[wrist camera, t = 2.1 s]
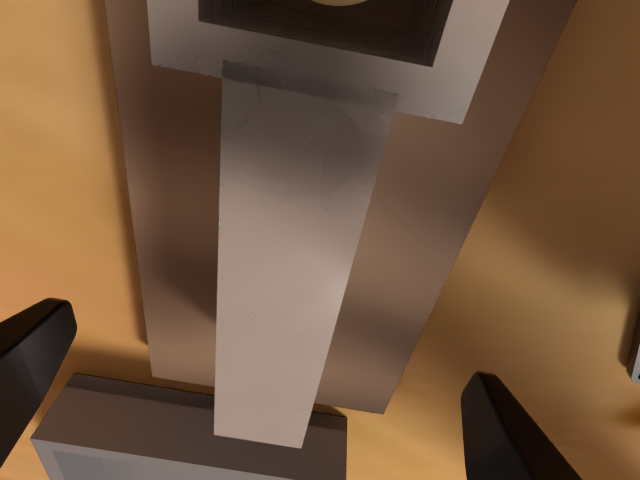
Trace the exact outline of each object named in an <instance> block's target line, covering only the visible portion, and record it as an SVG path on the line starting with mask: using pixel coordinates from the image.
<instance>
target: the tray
mask: <svg viewBox="0 0 640 480" xmlns="http://www.w3.org/2000/svg"><path fill="white" fill-rule="evenodd" d="M214 405H215V396H211V395H205V394H199V393H193V392H186V391H180V390H174V389H168V388H162V387H156V386H150V385H143V384H137V383H131V382H125V381H119V380H113V379H106V378H100V377H94V376H88V375H82V374H76V373H74V374H73V375H72V377H71V378H70V380H69V381H68V383H67V384H66V386H65V387H64V389H63V390H62V392H61V393H60V394H59V396H58V397H57V399H56V400H55V402H54V403H53V405H52V406H51V408H50V409H49V411H48V412H47V414H46V415H45V417H44V418H43V420H42V421H41V423H40V424H39V426H38V427H37V429H36V430H35V432H34V433H33V435H32V436H31V438H30V440H31V442H32V444H33V446H34V448H35V450H36V452H37V454H38V456H39V458H40V460H41V462H42V464H43V466H44V468H45V470H46V472H47V474H48V476H49V478H50V480H346V459H347V418H346V417H340V416H334V415H328V414H322V413H316V412H311V415H310V419H309V422H308V426H307V430H306V433H305V437H304V440H303V444H302V448H301V449H300V448H294V447H288V446H281V445H275V444H269V443H262V442H256V441H250V440H244V439H237V438H231V437H225V436H218V435H214Z"/></svg>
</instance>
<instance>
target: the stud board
mask: <svg viewBox="0 0 640 480" xmlns="http://www.w3.org/2000/svg"><path fill="white" fill-rule="evenodd" d="M261 1H266V2H271V3H276V4H281V5H286V6H291V7H296V8H301V9H306V10H311V11H316V12H321V13H326V14H331V15H336V16H341V17H346V18H351V19H356V20H361V21H366V22H371V23H376V24H381V25H386V26H391V27H396V28H401V29H406V30H407V27H408V23H409V20H410V16H411V12H412V8H413V4H414V1H415V0H261ZM104 2H105V10H106V18H107V26H108V34H109V41H110V49H111V57H112V65H113V73H114V81H115V89H116V96H117V104H118V112H119V120H120V128H121V136H122V144H123V151H124V159H125V167H126V175H127V183H128V191H129V199H130V207H131V214H132V222H133V230H134V238H135V246H136V254H137V262H138V269H139V277H140V285H141V293H142V301H143V309H144V317H145V325H146V332H147V340H148V348H149V356H150V364H151V372H152V377H157V378H163V379H169V380H175V381H181V382H187V383H194V384H200V385H206V386H212V387H215V363H216V321H217V278H218V236H219V194H220V151H221V109H222V78H218V77H213V76H208V75H203V74H198V73H192V72H187V71H182V70H177V69H172V68H167V67H161V66H156V65H152V63H151V49H150V35H149V22H148V8H147V0H104ZM576 2H577V0H510V1H509V3H508V6H507V9H506V11H505V14H504V16H503V19H502V22H501V24H500V27H499V29H498V32H497V35H496V37H495V40H494V42H493V45H492V48H491V50H490V53H489V56H488V58H487V61H486V63H485V66H484V69H483V71H482V74H481V76H480V79H479V82H478V84H477V87H476V89H475V92H474V95H473V97H472V100H471V103H470V105H469V108H468V110H467V113H466V116H465V118H464V121H463V123H462V124H457V123H452V122H447V121H442V120H437V119H431V118H426V117H421V116H416V115H411V114H405V113H400V112H394V116H393V119H392V123H391V127H390V130H389V134H388V137H387V141H386V145H385V148H384V152H383V155H382V159H381V163H380V166H379V170H378V173H377V177H376V181H375V184H374V188H373V191H372V195H371V199H370V202H369V206H368V210H367V213H366V217H365V220H364V224H363V228H362V231H361V235H360V238H359V242H358V246H357V249H356V253H355V256H354V260H353V264H352V267H351V271H350V274H349V278H348V282H347V285H346V289H345V293H344V296H343V300H342V303H341V307H340V311H339V314H338V318H337V321H336V325H335V329H334V332H333V336H332V339H331V343H330V347H329V350H328V354H327V357H326V361H325V365H324V368H323V372H322V376H321V379H320V383H319V386H318V390H317V394H316V397H315V401H314V403H316V404H322V405H328V406H334V407H340V408H346V409H353V410H359V411H365V412H371V413H377V414H384V412H385V410H386V408H387V405H388V403H389V401H390V399H391V397H392V395H393V393H394V391H395V388H396V386H397V384H398V382H399V380H400V378H401V376H402V373H403V371H404V369H405V367H406V365H407V363H408V361H409V358H410V356H411V354H412V352H413V350H414V348H415V346H416V343H417V341H418V339H419V337H420V335H421V333H422V331H423V329H424V326H425V324H426V322H427V320H428V318H429V316H430V314H431V311H432V309H433V307H434V305H435V303H436V301H437V299H438V296H439V294H440V292H441V290H442V288H443V286H444V284H445V282H446V279H447V277H448V275H449V273H450V271H451V269H452V267H453V264H454V262H455V260H456V258H457V256H458V254H459V252H460V249H461V247H462V245H463V243H464V241H465V239H466V237H467V234H468V232H469V230H470V228H471V226H472V224H473V222H474V220H475V217H476V215H477V213H478V211H479V209H480V207H481V205H482V202H483V200H484V198H485V196H486V194H487V192H488V190H489V187H490V185H491V183H492V181H493V179H494V177H495V175H496V173H497V170H498V168H499V166H500V164H501V162H502V160H503V158H504V155H505V153H506V151H507V149H508V147H509V145H510V143H511V140H512V138H513V136H514V134H515V132H516V130H517V128H518V125H519V123H520V121H521V119H522V117H523V115H524V113H525V111H526V108H527V106H528V104H529V102H530V100H531V98H532V96H533V93H534V91H535V89H536V87H537V85H538V83H539V81H540V78H541V76H542V74H543V72H544V70H545V68H546V66H547V64H548V61H549V59H550V57H551V55H552V53H553V51H554V49H555V46H556V44H557V42H558V40H559V38H560V36H561V34H562V31H563V29H564V27H565V25H566V23H567V21H568V19H569V16H570V14H571V12H572V10H573V8H574V6H575V4H576Z"/></svg>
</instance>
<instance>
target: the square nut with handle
mask: <svg viewBox="0 0 640 480" xmlns="http://www.w3.org/2000/svg"><path fill="white" fill-rule="evenodd" d="M509 1H510V0H415V1H414V4H413V8H412V12H411V16H410V20H409V23H408V27H407V30H406V29H401V28H396V27H391V26H386V25H381V24H376V23H371V22H366V21H361V20H356V19H351V18H346V17H341V16H336V15H331V14H326V13H321V12H316V11H311V10H306V9H301V8H296V7H291V6H286V5H281V4H276V3H271V2H266V1H261V0H147V8H148V22H149V35H150V49H151V63H152V65H156V66H161V67H167V68H172V69H177V70H182V71H187V72H192V73H198V74H203V75H208V76H213V77H218V78H222V109H221V151H220V194H219V236H218V278H217V321H216V363H215V405H214V435H218V436H225V437H231V438H237V439H244V440H250V441H256V442H262V443H269V444H275V445H281V446H288V447H294V448H300V449H301V448H302V444H303V440H304V437H305V433H306V430H307V426H308V422H309V419H310V415H311V412H312V408H313V404H314V401H315V397H316V394H317V390H318V386H319V383H320V379H321V376H322V372H323V368H324V365H325V361H326V357H327V354H328V350H329V347H330V343H331V339H332V336H333V332H334V329H335V325H336V321H337V318H338V314H339V311H340V307H341V303H342V300H343V296H344V293H345V289H346V285H347V282H348V278H349V274H350V271H351V267H352V264H353V260H354V256H355V253H356V249H357V246H358V242H359V238H360V235H361V231H362V228H363V224H364V220H365V217H366V213H367V210H368V206H369V202H370V199H371V195H372V191H373V188H374V184H375V181H376V177H377V173H378V170H379V166H380V163H381V159H382V155H383V152H384V148H385V145H386V141H387V137H388V134H389V130H390V127H391V123H392V119H393V116H394V112H400V113H405V114H411V115H416V116H421V117H426V118H431V119H437V120H442V121H447V122H452V123H457V124H462V123H463V121H464V118H465V116H466V113H467V110H468V108H469V105H470V103H471V100H472V97H473V95H474V92H475V89H476V87H477V84H478V82H479V79H480V76H481V74H482V71H483V69H484V66H485V63H486V61H487V58H488V56H489V53H490V50H491V48H492V45H493V42H494V40H495V37H496V35H497V32H498V29H499V27H500V24H501V22H502V19H503V16H504V14H505V11H506V9H507V6H508V3H509Z"/></svg>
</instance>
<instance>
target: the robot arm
mask: <svg viewBox="0 0 640 480" xmlns="http://www.w3.org/2000/svg"><path fill="white" fill-rule="evenodd" d="M76 332H77V324H76V320H75V317H74V313H73V309H72V306H71V303H70V302H69V301H67V300H63V299H57V298H47V299H44V300H42V301H40V302H38V303H36V304H34V305H33V306H31V307H29V308H27V309H25V310H23V311H21V312H19V313H17V314H15V315H14V316H12V317H10V318H8V319H6V320H4V321H2V322H0V468H1V466H2V465H3V463H4V462H5V460H6V458H7V457H8V455H9V454H10V452H11V451H12V449H13V447H14V446H15V444H16V443H17V441H18V440H19V438H20V436H21V435H22V433H23V432H24V430H25V428H26V427H27V425H28V424H29V422H30V421H31V419H32V417H33V416H34V414H35V413H36V411H37V409H38V408H39V406H40V404H41V403H42V401H43V399H44V397H45V395H46V394H47V392H48V390H49V388H50V386H51V384H52V382H53V380H54V378H55V376H56V374H57V372H58V370H59V368H60V366H61V364H62V362H63V360H64V358H65V356H66V354H67V352H68V350H69V348H70V346H71V344H72V342H73V340H74V338H75V335H76ZM627 373H628V375H629V376H630V378H631V379H632V381H633V382H635V383H640V314H639V318H638V322H637V327H636V331H635V335H634V340H633V344H632V348H631V352H630V357H629V361H628V365H627ZM461 412H462V427H463V442H464V456H465V468H466V476H467V480H582V479H581V478H580V476H579V475H578V474H577V473H576V472H575V470H574V469H573V468H572V467H571V465H570V464H569V463H568V462H567V461H566V459H565V458H564V457H563V456H562V454H561V453H560V452H559V451H558V450H557V448H556V447H555V446H554V445H553V443H552V442H551V441H550V440H549V439H548V437H547V436H546V435H545V434H544V432H543V431H542V430H541V429H540V428H539V426H538V425H537V424H536V423H535V422H534V420H533V419H532V418H531V417H530V415H529V414H528V413H527V412H526V411H525V409H524V408H523V407H522V406H521V404H520V403H519V402H518V401H517V400H516V398H515V397H514V396H513V395H512V393H511V392H510V391H509V390H508V389H507V387H506V386H505V385H504V384H503V382H502V381H501V380H500V379H499V378H498V377H497V376H496V375H495V374H492V373H487V372H481V371H477V372H476V373H474V374H473V376H472V378H471V379H470V381H469V382H468V384H467V385H466V387H465V389H464V390H463V392H462V395H461Z"/></svg>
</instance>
